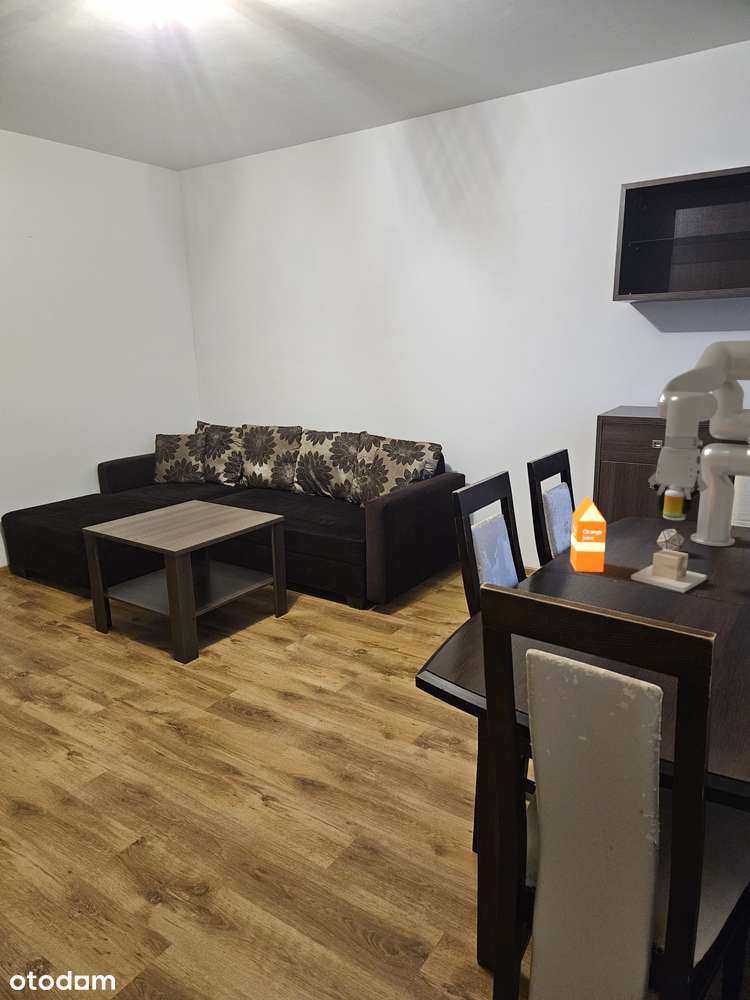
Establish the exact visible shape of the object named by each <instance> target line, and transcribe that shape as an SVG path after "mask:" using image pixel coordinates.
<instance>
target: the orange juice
mask: <svg viewBox="0 0 750 1000" xmlns="http://www.w3.org/2000/svg"><path fill="white" fill-rule="evenodd" d="M571 525H572V526H571V537H570V539H571V540H570V541H571V542H570V559H569V560H570V562H569V563H571V565H572V567H573V570H574V571H575V572H591V573H595V572H597V573H603V572H604V560H605V550H606V547H605V546H606V533H607V521H606V520H605V518H604V517H603V516H602V514H601V512H600V511H599V510H598V508H597V507H596V505H595V503H594V501H593V500H592V499H591V498H590V496H588V495H586V497H585V498H584V499H583V500H582V501H581V503H580V504H579V505H578V506H577V508H576V509H575V510H574V512H573V513H572V522H571Z"/></svg>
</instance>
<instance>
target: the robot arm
mask: <svg viewBox="0 0 750 1000" xmlns="http://www.w3.org/2000/svg"><path fill="white" fill-rule="evenodd" d="M739 381H750V340H725V341H724V340H720V341H715V342H712V343H710V344H708V346H707V347H706V348H705V349H704V350H703V353H702V354H701V356H700V357H699V360H698V362H697V363H696V365H695V366H694V368H692V369H690V370H687V371H685V372H683V373H682V374H679V375H677V376H675V377H673V378H672V379H671V380H669V381H668V382H667V383H666V385H665V386H664V387H663V389H662V391H661V393H660V395H659V397H658V400H657V404H656V411H657V412H656V413H657V415H658V416H659V418H660V417H661V419H663V420H666V424H665V426H666V427H665V434H664V435H665V436H664V446H662V447H661V449H660V451H659V452H660V453H659V455H658V456H659V457H658V459H657V465H656V471H655V472H654V473H653V474H652V475H651V476H650V477H649V478H648V479H647V481H648V483H649V484H650V485H651V486H652V487H653V489H654V490H655V492H656V494H657V496H658V507H659V509H658V510H659V511H663V509H664V498H665V491H666V490H667V489H669V487H668V486H670V485H675V486H677V487H680V488H684V491H685V495H686V499H684V503H683V514H686V515H688V514H690V513H691V512H692V511H693V503H694V499H695V497H697V496H698V495H699V505H698V514H697V523H696V524H697V525H696V532H694V533H691V534H690V540H691V542H695V543H697V544H701V545H704V546H710V547H711V546H712V547H730V546H733V545H734V544H735V542H736V540H735V538H733V537H731V530H732V517H733V512H734V511H733V509H734V500H735V499H734V498H735V492H736V488H735V486H734V483H733V481H732V480H731V478H730V477H729V476H738V477H748V478H750V408H744V397H745V392H744V389H743V387H742V385H741V384H740V383H739ZM708 421H709V426H708V427H709V429H708V430H709V434H710V436H712V437H713V438H715V439H719V440H729V441H730V440H732V441H745V442H747V443H748V444H735V443H724V442H723V443H719V442H718V443H717V442H715V443H709V444H707V445H706V446H704V447H703V449H702V450H701V449H700V448H698V447H699V446H703V441H704V440H702V439H699V436H698V435H699V426H700V422H708ZM695 487H698V488H697V489H694V488H695Z"/></svg>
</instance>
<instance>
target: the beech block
mask: <svg viewBox="0 0 750 1000" xmlns="http://www.w3.org/2000/svg"><path fill="white" fill-rule="evenodd" d="M652 556H653V557H652V558H653V559H652V565H653V566H652V575H654V576H658V577H662V578H666V579H670V580H674V581H676V580H678V579H680V578H682V577H684V576H685V575H686V571H688V570H687V568H688V558H689V553H686V552H681V551H679V552H677V551H672V550H668V549H663V550H662V549H661V550H658V551H657V552H654V553H653V555H652Z"/></svg>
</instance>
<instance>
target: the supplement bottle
mask: <svg viewBox="0 0 750 1000" xmlns="http://www.w3.org/2000/svg"><path fill="white" fill-rule="evenodd" d="M684 499H686V495H685V491H684V488H680V487H677V486H675V485H670V486H668V489H667V490H666V491H665V498H664V509H663V510H662V517H663V518H664V519H665V520H670V521H683V520H685V519H686V515H687V514H683V503H684Z"/></svg>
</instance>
